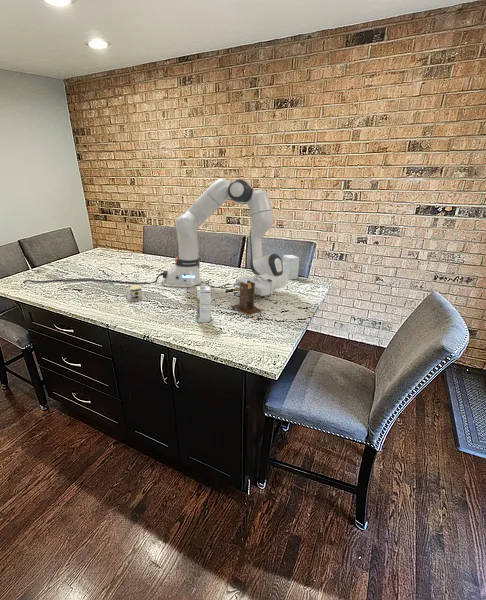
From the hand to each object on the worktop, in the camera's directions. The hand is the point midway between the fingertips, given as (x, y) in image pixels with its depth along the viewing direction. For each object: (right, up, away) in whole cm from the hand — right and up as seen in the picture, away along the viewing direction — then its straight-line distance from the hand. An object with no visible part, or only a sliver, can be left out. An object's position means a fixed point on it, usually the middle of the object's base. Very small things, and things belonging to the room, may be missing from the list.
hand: (240, 288), depth 162 cm
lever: (0, -1, -7) cm, 7 cm away
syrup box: (-17, -14, -16) cm, 27 cm away
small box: (+33, +8, +40) cm, 53 cm away
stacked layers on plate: (-52, -4, +10) cm, 53 cm away
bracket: (+2, -11, -7) cm, 13 cm away
